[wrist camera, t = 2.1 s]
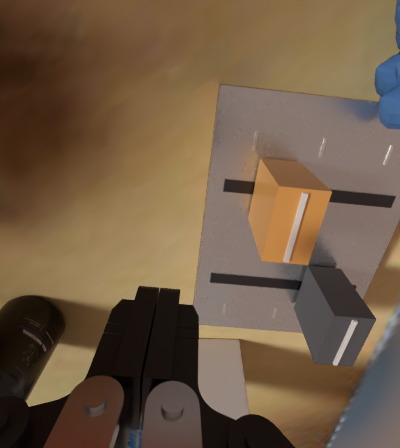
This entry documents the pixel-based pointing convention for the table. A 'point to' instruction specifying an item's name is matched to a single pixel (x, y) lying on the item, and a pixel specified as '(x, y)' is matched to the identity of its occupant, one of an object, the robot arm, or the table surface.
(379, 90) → the grapes
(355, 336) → the block
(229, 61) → the table surface
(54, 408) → the robot arm
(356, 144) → the console
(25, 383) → the supplement bottle
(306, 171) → the orange fader
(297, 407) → the table surface
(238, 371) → the milk
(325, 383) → the table surface
